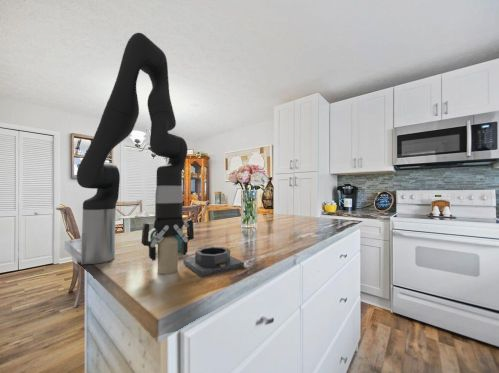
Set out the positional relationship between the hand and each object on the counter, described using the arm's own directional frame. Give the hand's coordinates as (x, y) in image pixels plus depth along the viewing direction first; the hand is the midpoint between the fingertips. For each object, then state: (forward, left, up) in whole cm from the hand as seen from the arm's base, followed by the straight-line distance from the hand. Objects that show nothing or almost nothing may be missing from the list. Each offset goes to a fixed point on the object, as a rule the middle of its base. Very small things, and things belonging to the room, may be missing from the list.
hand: (168, 257), depth 64 cm
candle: (0, 0, -4) cm, 4 cm away
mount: (+13, -3, -4) cm, 14 cm away
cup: (+6, +23, -4) cm, 24 cm away
